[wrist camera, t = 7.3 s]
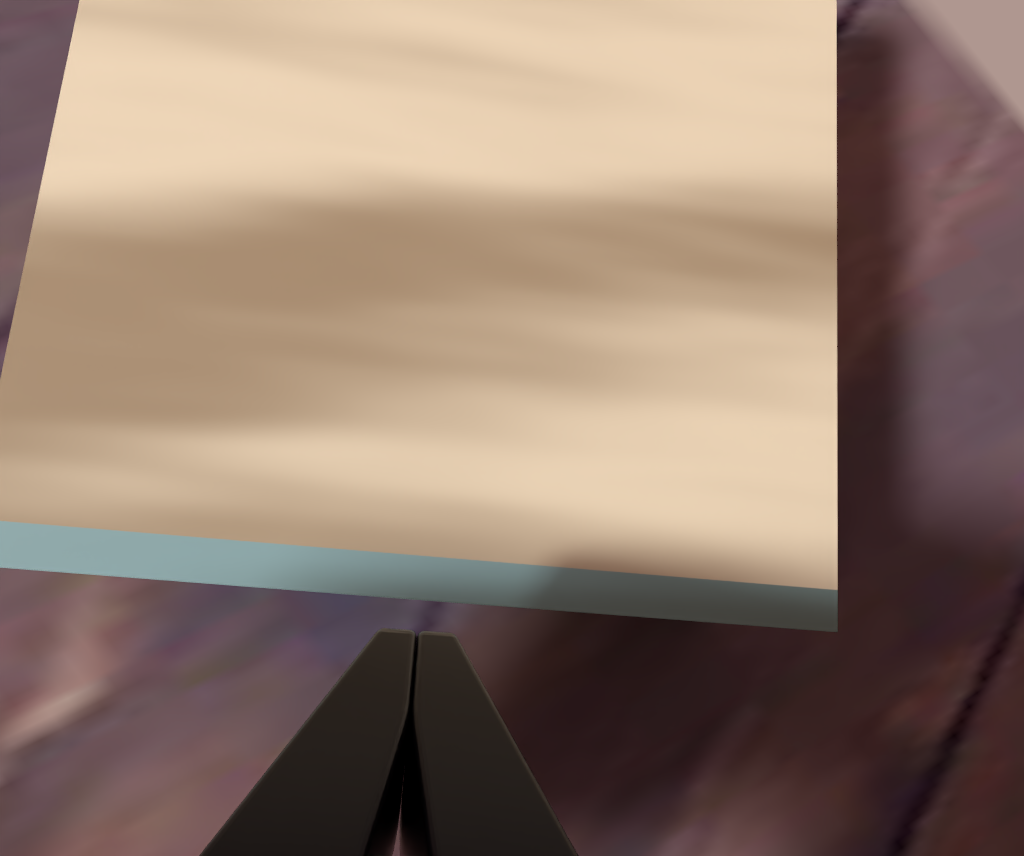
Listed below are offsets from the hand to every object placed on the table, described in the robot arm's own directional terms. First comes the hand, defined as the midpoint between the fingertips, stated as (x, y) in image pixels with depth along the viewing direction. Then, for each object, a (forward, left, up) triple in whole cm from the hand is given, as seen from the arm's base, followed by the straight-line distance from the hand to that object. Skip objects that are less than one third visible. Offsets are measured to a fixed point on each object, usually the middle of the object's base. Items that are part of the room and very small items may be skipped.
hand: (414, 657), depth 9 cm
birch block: (+1, 0, -5) cm, 5 cm away
